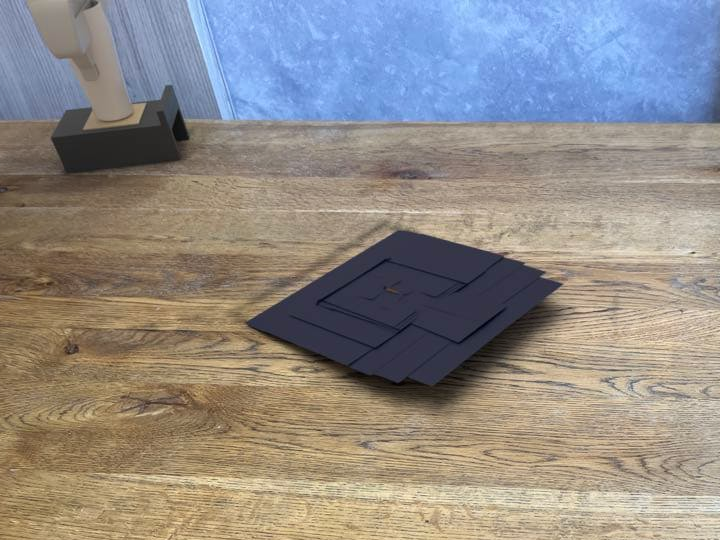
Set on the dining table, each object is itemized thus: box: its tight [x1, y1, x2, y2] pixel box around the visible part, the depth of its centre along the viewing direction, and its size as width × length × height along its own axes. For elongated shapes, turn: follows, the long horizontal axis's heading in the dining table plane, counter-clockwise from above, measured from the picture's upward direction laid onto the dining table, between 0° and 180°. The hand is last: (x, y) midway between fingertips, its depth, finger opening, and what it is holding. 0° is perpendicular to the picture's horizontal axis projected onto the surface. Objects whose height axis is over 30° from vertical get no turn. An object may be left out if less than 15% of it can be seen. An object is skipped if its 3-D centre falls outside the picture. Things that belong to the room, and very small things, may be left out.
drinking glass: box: [66, 0, 133, 121], centre depth 114 cm, size 7×7×15 cm
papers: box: [244, 229, 564, 387], centre depth 90 cm, size 24×30×4 cm
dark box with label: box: [50, 84, 191, 174], centre depth 121 cm, size 16×10×8 cm, turn 102°
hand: (98, 69), depth 115 cm, fingers closed on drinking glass, 6 cm apart
